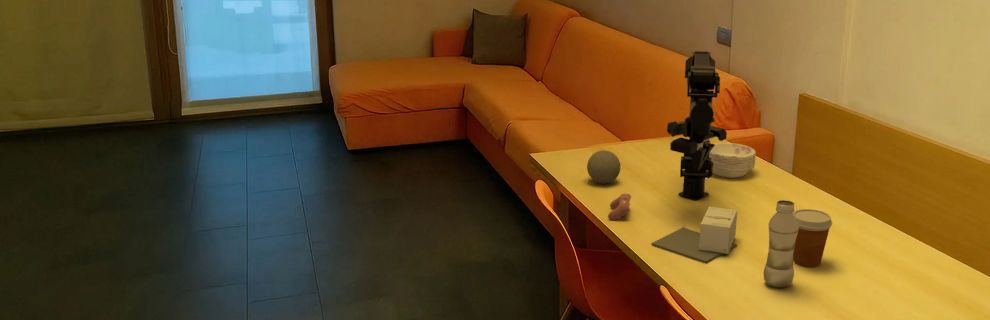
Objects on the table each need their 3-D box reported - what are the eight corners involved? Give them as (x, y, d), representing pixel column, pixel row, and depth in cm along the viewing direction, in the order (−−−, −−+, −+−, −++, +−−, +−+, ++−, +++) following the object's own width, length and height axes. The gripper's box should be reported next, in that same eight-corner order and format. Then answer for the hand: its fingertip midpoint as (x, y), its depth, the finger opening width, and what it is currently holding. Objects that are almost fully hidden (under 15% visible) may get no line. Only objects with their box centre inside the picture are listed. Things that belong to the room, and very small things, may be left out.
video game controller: (621, 226, 244) (633, 205, 241) (606, 218, 244) (618, 197, 241) (623, 213, 253) (635, 193, 251) (608, 205, 253) (620, 185, 251)
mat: (682, 229, 237) (682, 227, 237) (736, 246, 227) (736, 244, 226) (651, 245, 228) (651, 243, 228) (706, 263, 217) (706, 261, 217)
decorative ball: (580, 184, 271) (581, 152, 268) (596, 175, 279) (597, 144, 276) (610, 190, 266) (611, 158, 263) (625, 180, 274) (626, 149, 271)
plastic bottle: (758, 279, 209) (765, 198, 203) (786, 277, 210) (794, 197, 203) (768, 291, 203) (776, 208, 197) (797, 290, 203) (806, 207, 197)
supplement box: (738, 209, 229) (731, 227, 218) (735, 235, 232) (728, 255, 221) (708, 205, 232) (700, 223, 221) (706, 231, 234) (698, 250, 223)
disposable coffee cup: (807, 273, 212) (812, 226, 208) (777, 258, 220) (782, 212, 216) (836, 265, 216) (841, 218, 212) (806, 250, 224) (811, 205, 220)
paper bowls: (760, 170, 282) (762, 146, 279) (745, 184, 269) (746, 159, 267) (713, 162, 289) (714, 138, 287) (696, 176, 277) (697, 151, 275)
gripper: (693, 101, 250) (690, 155, 255) (654, 116, 238) (652, 171, 243) (729, 109, 243) (725, 163, 248) (690, 124, 230) (687, 181, 235)
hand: (697, 169), depth 244 cm, fingers closed
